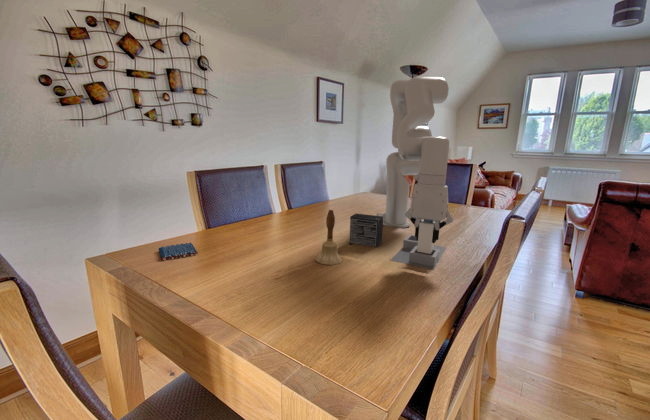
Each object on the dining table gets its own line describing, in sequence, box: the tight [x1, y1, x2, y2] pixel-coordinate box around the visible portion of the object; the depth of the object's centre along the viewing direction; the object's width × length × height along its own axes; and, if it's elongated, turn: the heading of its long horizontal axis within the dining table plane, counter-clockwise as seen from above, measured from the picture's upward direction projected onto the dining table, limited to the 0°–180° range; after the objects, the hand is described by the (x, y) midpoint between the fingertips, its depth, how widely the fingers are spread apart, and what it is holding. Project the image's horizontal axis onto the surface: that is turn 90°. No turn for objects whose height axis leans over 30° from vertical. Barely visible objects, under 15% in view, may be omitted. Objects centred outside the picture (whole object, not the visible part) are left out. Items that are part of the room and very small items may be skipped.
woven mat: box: [158, 242, 199, 262], centre depth 101 cm, size 10×11×2 cm
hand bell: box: [315, 209, 343, 266], centre depth 96 cm, size 8×8×16 cm
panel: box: [390, 233, 447, 270], centre depth 102 cm, size 13×22×4 cm, turn 150°
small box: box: [348, 213, 384, 248], centre depth 112 cm, size 11×6×10 cm, turn 65°
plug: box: [417, 219, 435, 254], centre depth 95 cm, size 4×4×10 cm
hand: (426, 239), depth 95 cm, fingers closed on plug, 4 cm apart
